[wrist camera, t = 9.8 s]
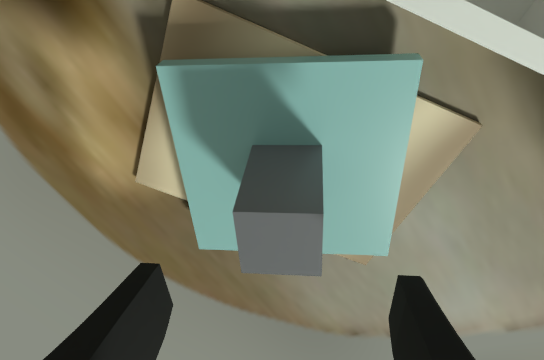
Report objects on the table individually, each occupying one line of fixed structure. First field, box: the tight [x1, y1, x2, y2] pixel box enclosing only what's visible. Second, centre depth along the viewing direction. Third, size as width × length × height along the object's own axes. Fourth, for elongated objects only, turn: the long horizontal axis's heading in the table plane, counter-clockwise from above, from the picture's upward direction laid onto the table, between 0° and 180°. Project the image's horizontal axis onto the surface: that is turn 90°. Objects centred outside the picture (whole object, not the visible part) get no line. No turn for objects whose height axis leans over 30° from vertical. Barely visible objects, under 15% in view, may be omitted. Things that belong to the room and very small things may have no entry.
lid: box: [156, 53, 423, 276], centre depth 15 cm, size 10×10×6 cm
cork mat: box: [135, 0, 482, 265], centre depth 18 cm, size 14×10×1 cm
